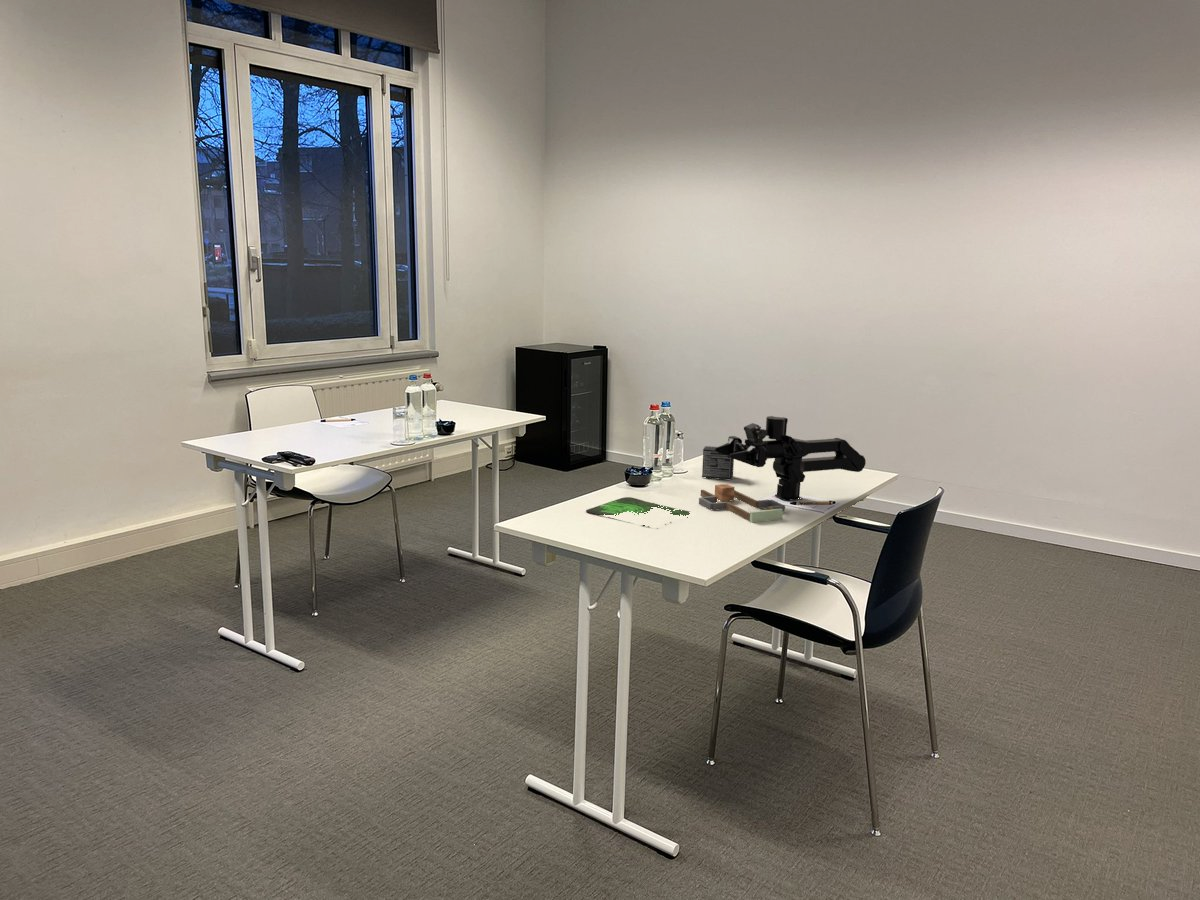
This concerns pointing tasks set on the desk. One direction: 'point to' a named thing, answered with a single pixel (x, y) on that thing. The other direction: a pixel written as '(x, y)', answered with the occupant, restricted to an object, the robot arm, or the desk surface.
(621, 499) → the mouse mat
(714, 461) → the small box
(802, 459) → the robot arm
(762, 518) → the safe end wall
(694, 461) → the desk surface
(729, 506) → the lane walls
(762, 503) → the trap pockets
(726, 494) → the wooden cube
